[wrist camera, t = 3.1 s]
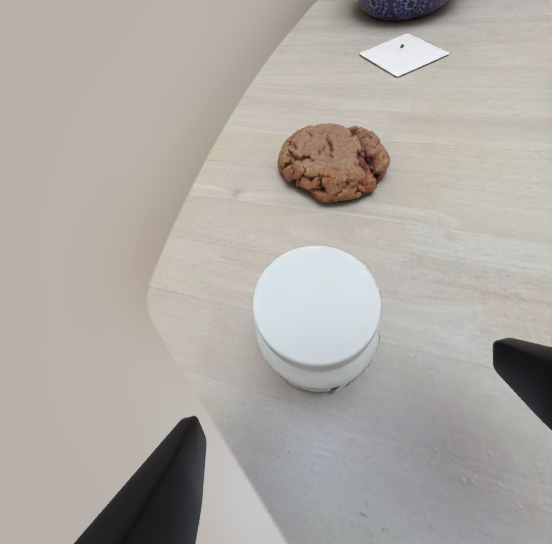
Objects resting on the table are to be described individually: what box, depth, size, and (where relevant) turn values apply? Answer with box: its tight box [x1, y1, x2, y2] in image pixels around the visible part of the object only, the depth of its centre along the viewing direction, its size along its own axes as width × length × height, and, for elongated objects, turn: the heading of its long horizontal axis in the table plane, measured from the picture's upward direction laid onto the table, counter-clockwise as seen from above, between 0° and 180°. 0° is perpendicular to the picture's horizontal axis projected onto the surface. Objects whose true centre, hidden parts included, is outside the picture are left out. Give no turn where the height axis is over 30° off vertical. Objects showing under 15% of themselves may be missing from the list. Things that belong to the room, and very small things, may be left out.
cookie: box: [278, 124, 390, 203], centre depth 25 cm, size 10×11×3 cm
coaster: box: [359, 33, 450, 77], centre depth 34 cm, size 8×8×1 cm
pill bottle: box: [252, 246, 382, 395], centre depth 14 cm, size 6×6×10 cm
